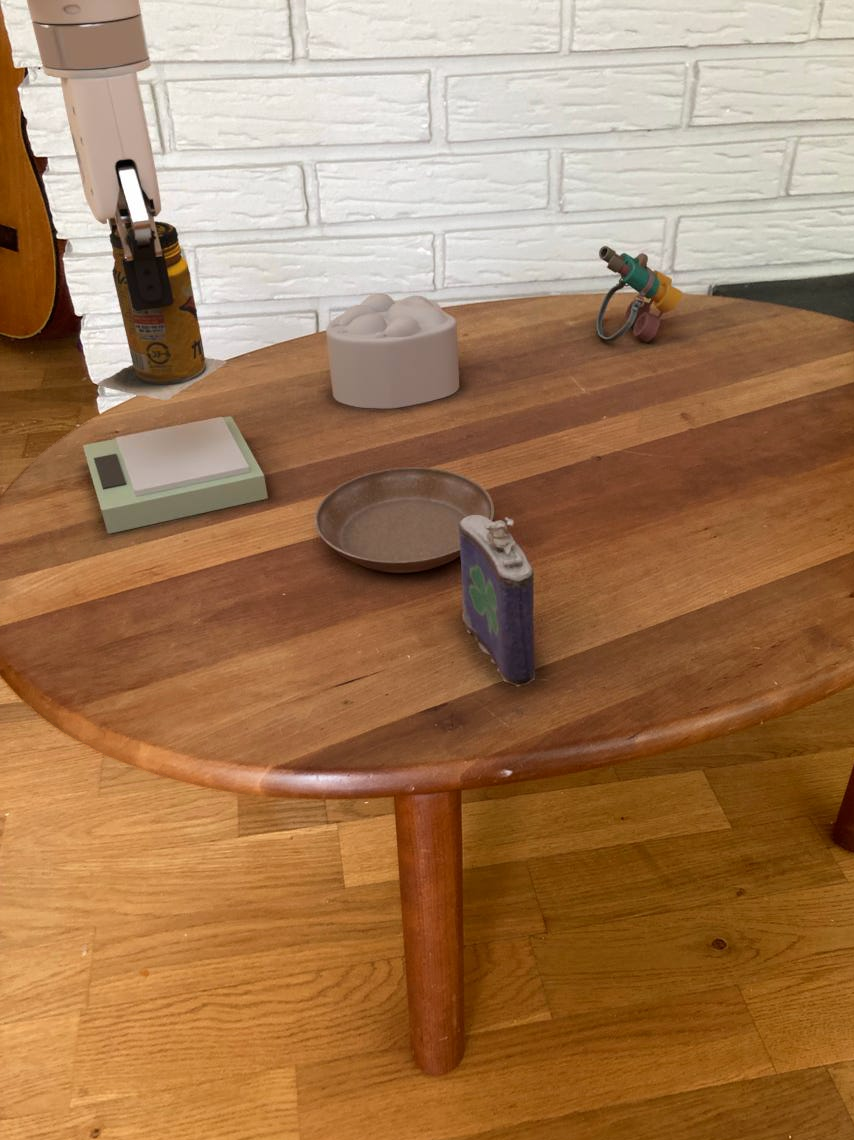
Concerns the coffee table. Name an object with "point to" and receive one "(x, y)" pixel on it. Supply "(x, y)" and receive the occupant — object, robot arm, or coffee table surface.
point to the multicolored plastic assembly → (647, 286)
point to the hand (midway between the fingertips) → (146, 291)
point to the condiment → (160, 329)
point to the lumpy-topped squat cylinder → (393, 353)
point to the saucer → (400, 517)
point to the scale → (173, 473)
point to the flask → (498, 596)
